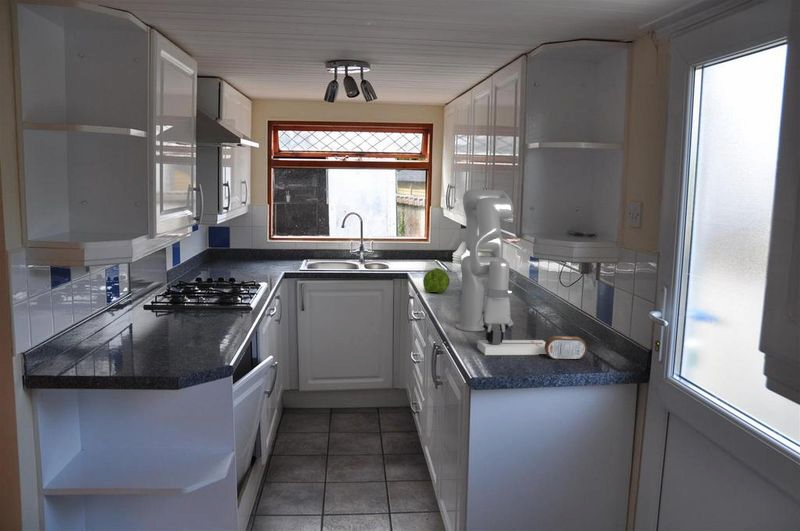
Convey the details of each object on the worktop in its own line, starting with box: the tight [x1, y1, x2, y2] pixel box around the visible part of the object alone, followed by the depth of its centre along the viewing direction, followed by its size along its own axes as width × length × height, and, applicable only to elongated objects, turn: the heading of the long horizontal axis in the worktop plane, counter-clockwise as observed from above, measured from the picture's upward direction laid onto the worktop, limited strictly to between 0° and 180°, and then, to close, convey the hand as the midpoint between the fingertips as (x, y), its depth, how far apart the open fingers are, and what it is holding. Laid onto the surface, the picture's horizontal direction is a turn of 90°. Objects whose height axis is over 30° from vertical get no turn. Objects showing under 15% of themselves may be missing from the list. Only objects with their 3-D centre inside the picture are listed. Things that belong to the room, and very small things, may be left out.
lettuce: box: [422, 267, 451, 293], centre depth 371 cm, size 14×24×15 cm
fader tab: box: [491, 327, 501, 344], centre depth 242 cm, size 5×3×5 cm, turn 10°
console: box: [476, 339, 547, 356], centre depth 244 cm, size 10×26×3 cm, turn 100°
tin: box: [545, 335, 588, 360], centre depth 236 cm, size 15×3×8 cm, turn 92°
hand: (494, 341), depth 243 cm, fingers open, 3 cm apart
